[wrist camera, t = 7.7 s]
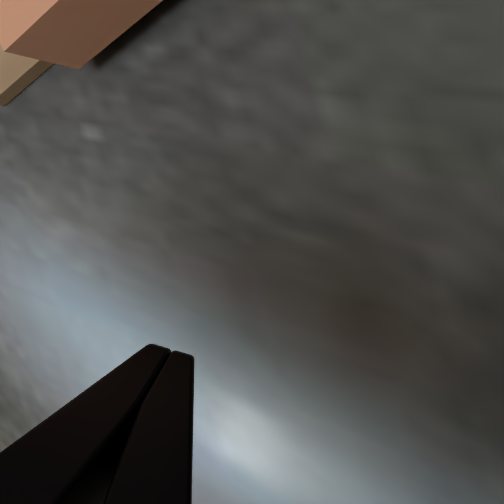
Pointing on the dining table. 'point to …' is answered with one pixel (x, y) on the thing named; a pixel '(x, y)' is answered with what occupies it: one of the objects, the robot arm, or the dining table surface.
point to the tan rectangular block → (66, 27)
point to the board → (18, 74)
